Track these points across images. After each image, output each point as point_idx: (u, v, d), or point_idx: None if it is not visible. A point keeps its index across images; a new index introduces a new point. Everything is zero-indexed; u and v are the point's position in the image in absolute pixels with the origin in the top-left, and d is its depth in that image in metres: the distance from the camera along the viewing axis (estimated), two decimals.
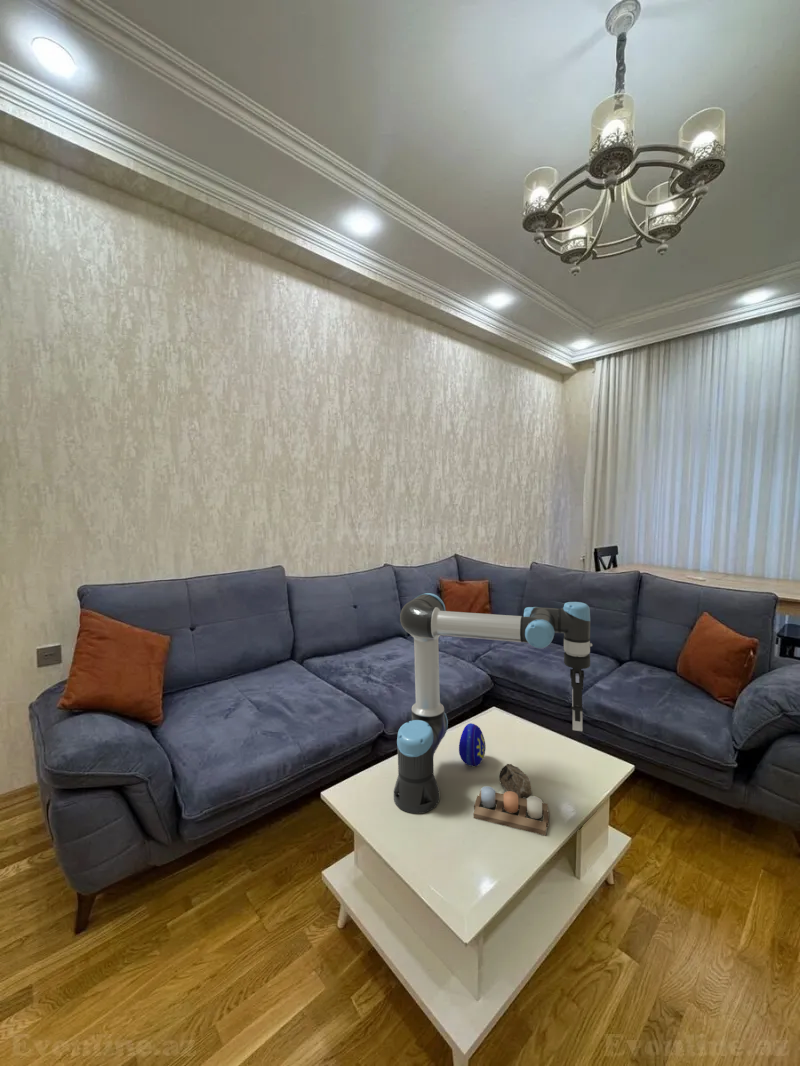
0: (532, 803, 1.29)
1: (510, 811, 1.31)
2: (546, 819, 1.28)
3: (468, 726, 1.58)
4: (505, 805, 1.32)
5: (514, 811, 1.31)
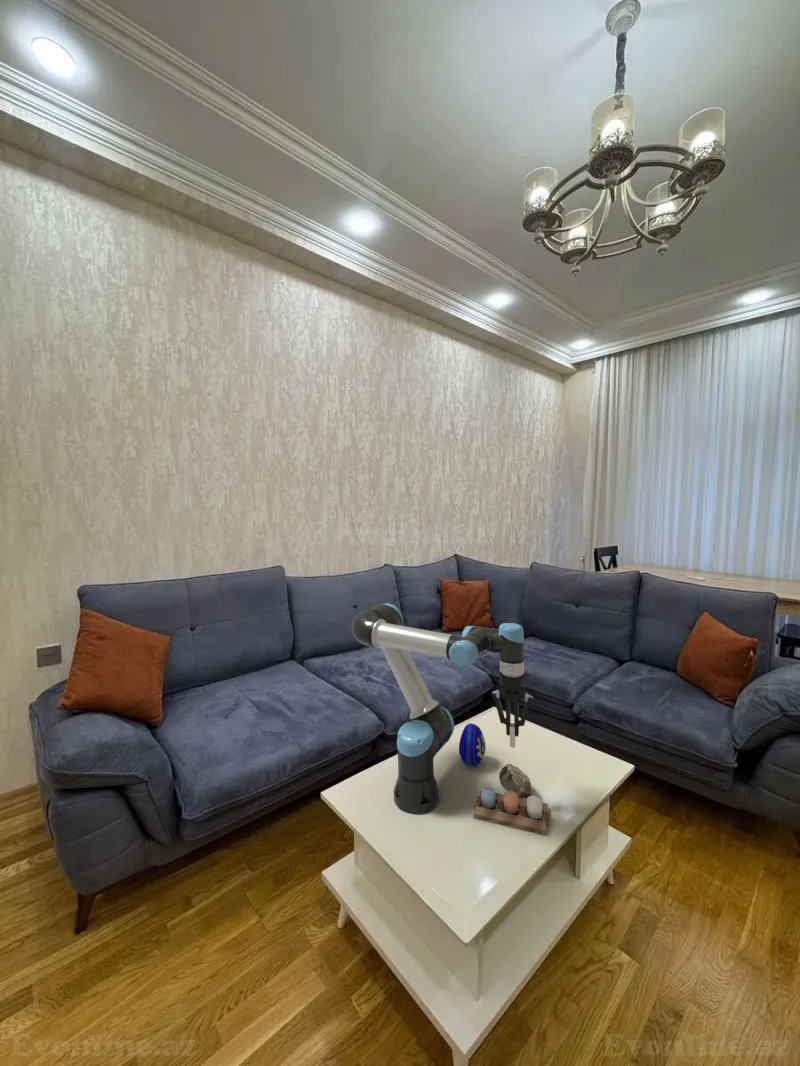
0: (532, 803, 1.29)
1: (510, 811, 1.31)
2: (546, 819, 1.28)
3: (468, 726, 1.58)
4: (505, 805, 1.32)
5: (514, 811, 1.31)
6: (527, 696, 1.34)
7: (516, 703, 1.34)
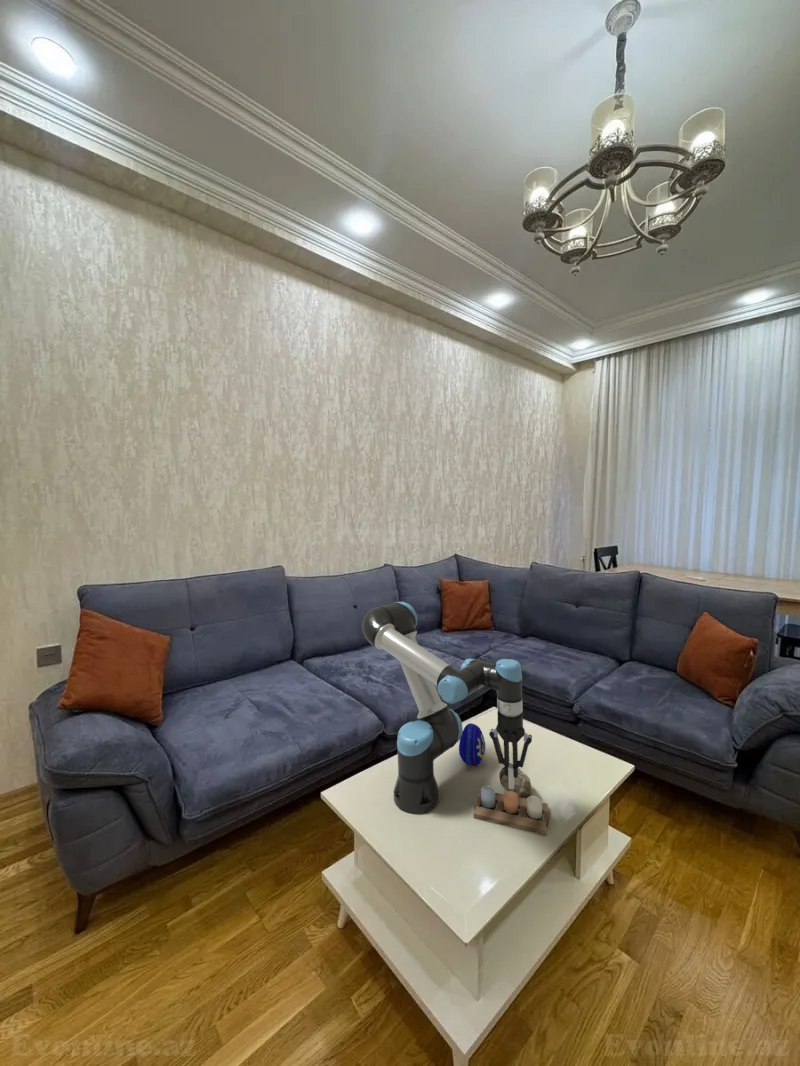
0: (532, 803, 1.29)
1: (510, 811, 1.31)
2: (546, 819, 1.28)
3: (468, 726, 1.58)
4: (505, 805, 1.32)
5: (514, 811, 1.31)
6: (526, 736, 1.29)
7: (514, 743, 1.29)
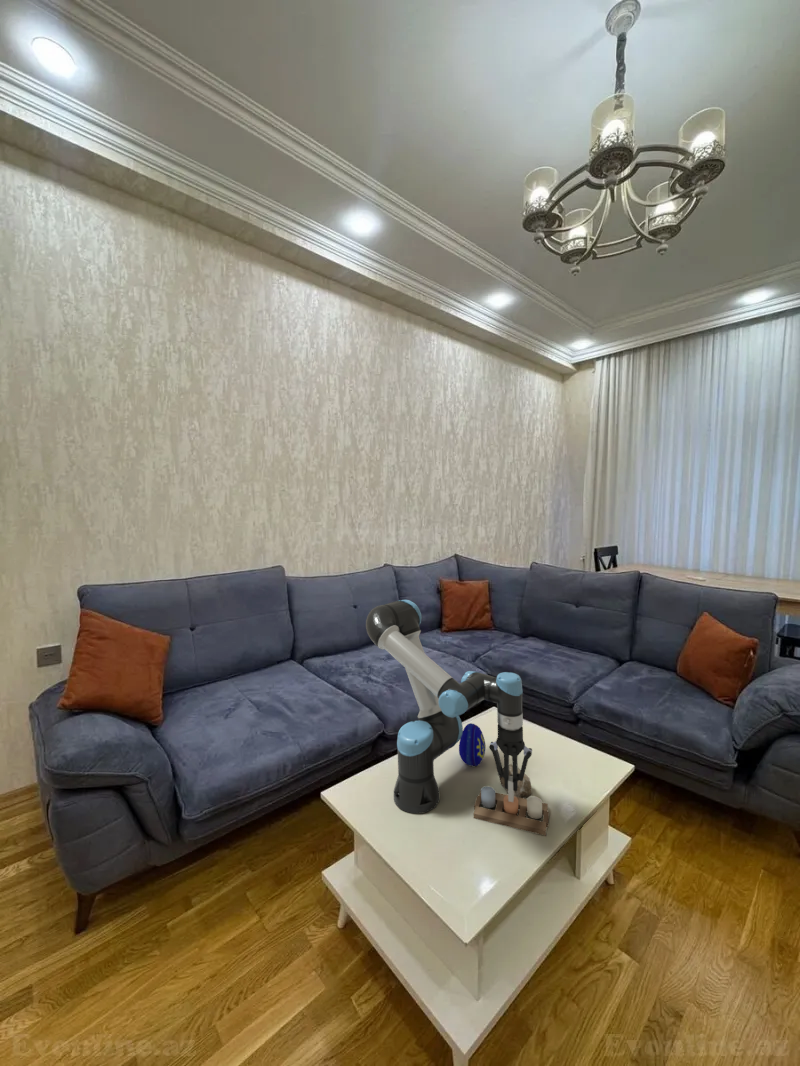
0: (532, 803, 1.29)
1: None
2: (546, 819, 1.28)
3: (468, 726, 1.58)
4: (505, 809, 1.32)
5: (514, 814, 1.31)
6: (526, 750, 1.29)
7: (514, 757, 1.30)
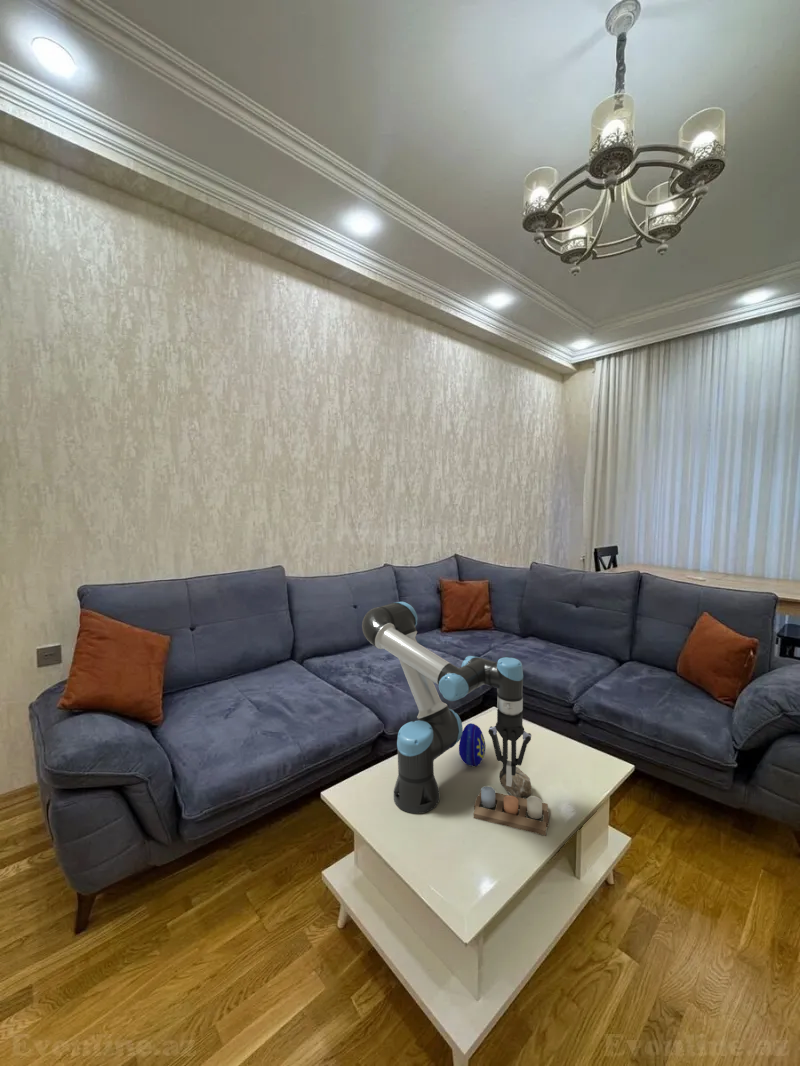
0: (532, 803, 1.29)
1: None
2: (546, 819, 1.28)
3: (468, 726, 1.58)
4: (505, 809, 1.32)
5: None
6: (525, 735, 1.29)
7: (513, 741, 1.30)
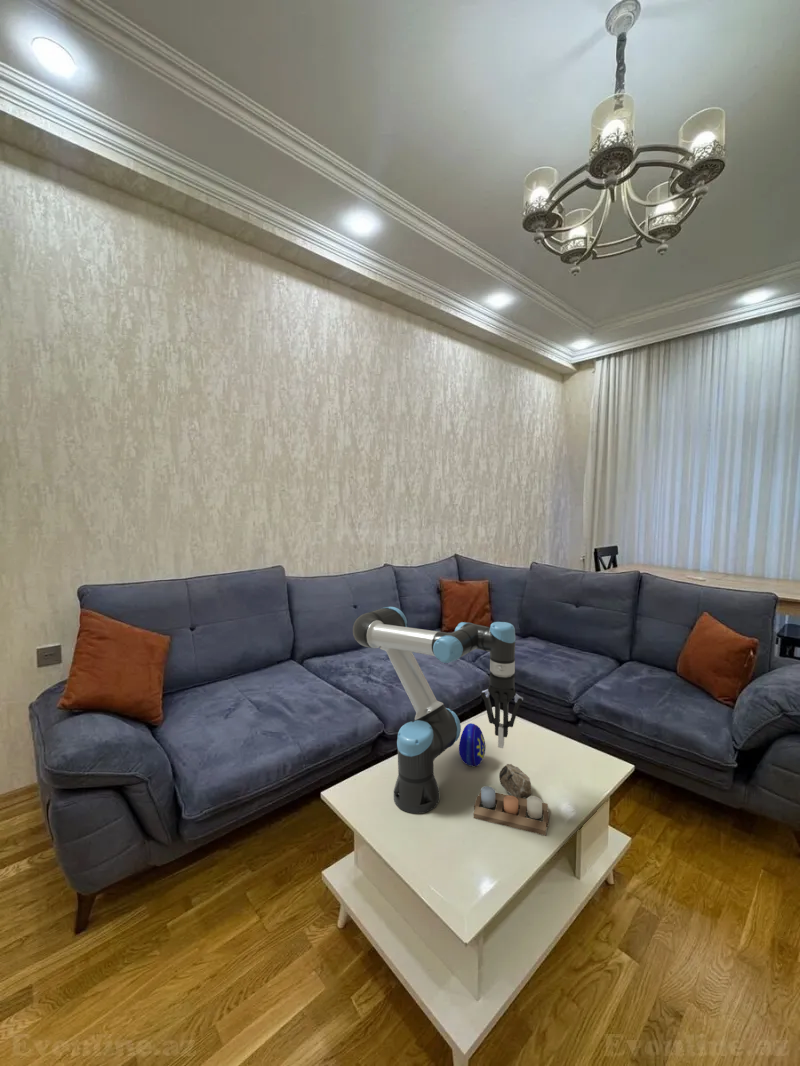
0: (532, 803, 1.29)
1: None
2: (546, 819, 1.28)
3: (468, 726, 1.58)
4: (505, 809, 1.32)
5: None
6: (517, 697, 1.32)
7: (505, 703, 1.32)
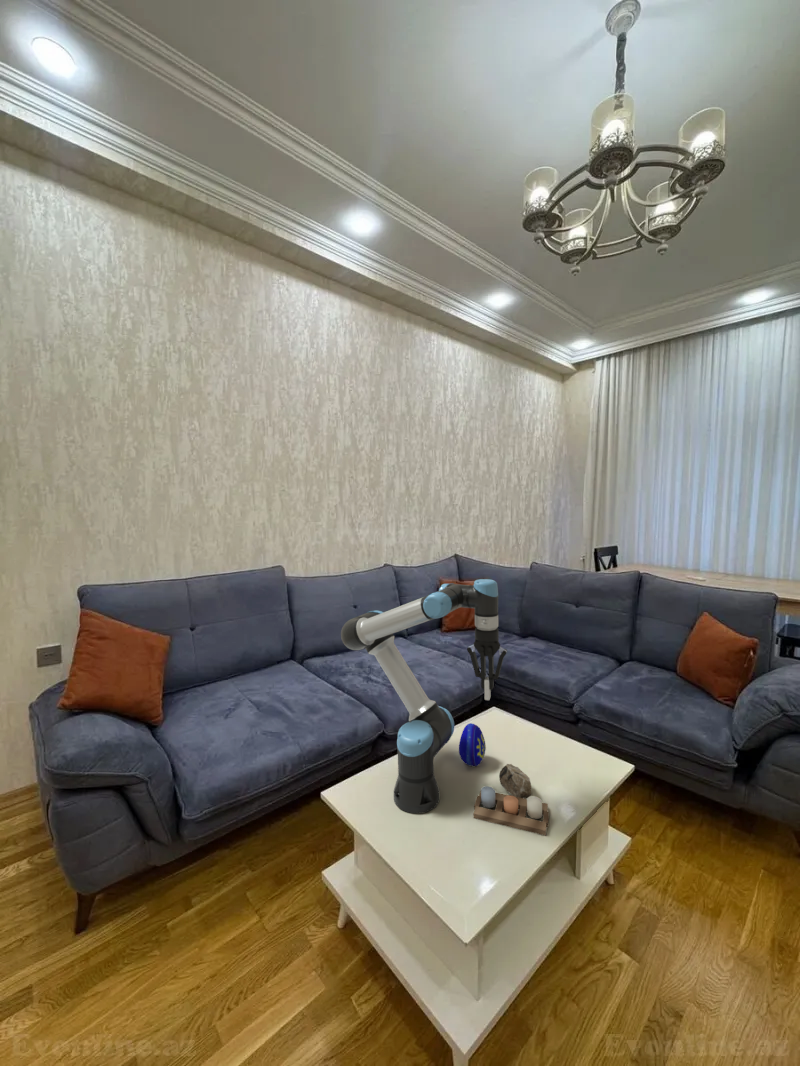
0: (532, 803, 1.29)
1: None
2: (546, 819, 1.28)
3: (468, 726, 1.58)
4: (505, 809, 1.32)
5: None
6: (501, 650, 1.37)
7: (490, 656, 1.37)
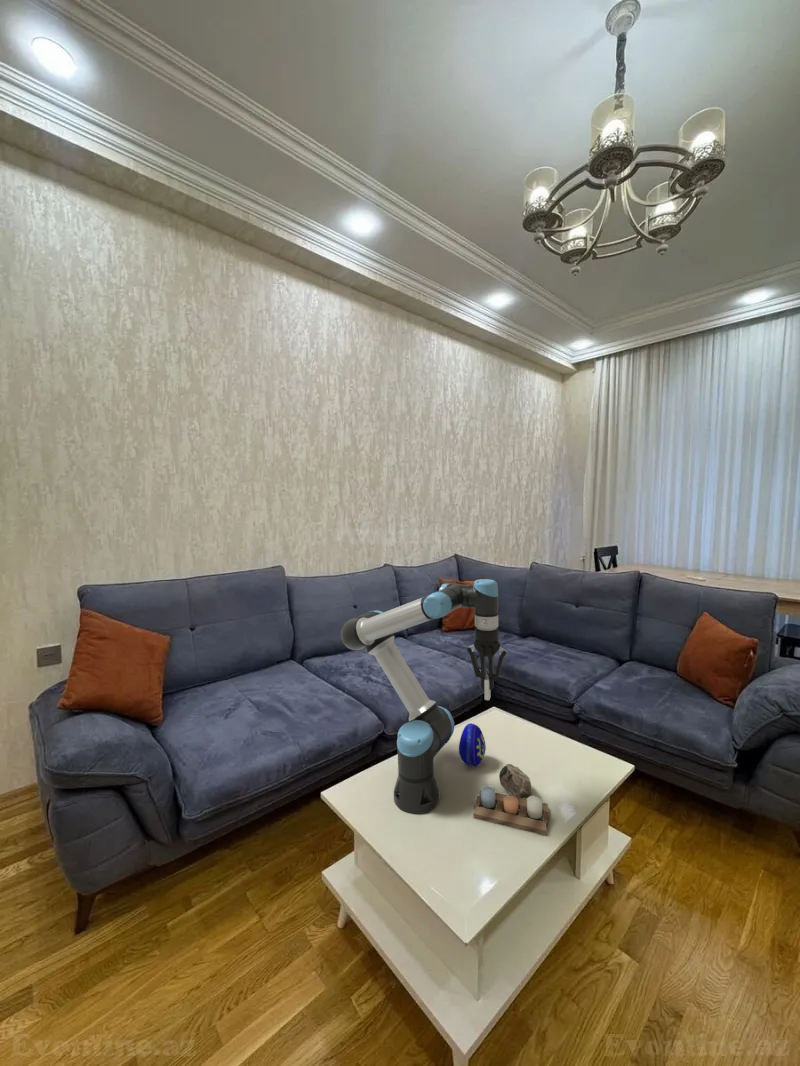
0: (532, 803, 1.29)
1: None
2: (546, 819, 1.28)
3: (468, 726, 1.58)
4: (505, 809, 1.32)
5: None
6: (501, 650, 1.37)
7: (490, 656, 1.37)
